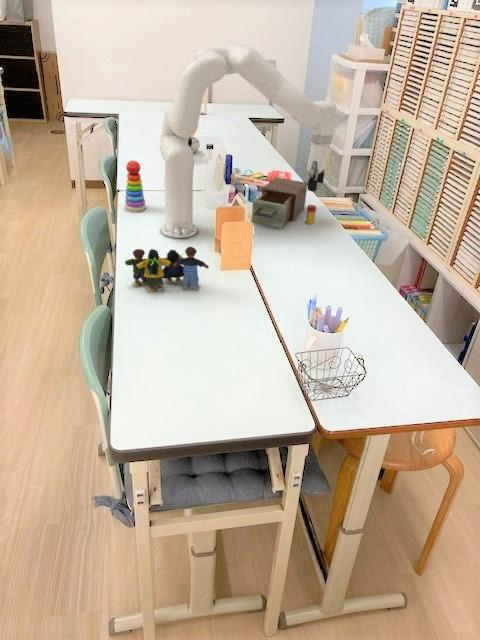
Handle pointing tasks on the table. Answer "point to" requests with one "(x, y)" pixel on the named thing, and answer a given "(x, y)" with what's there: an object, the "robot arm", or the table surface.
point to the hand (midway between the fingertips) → (315, 186)
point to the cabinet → (289, 192)
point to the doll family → (165, 268)
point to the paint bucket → (193, 143)
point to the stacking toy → (134, 188)
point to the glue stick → (310, 214)
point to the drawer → (272, 209)
